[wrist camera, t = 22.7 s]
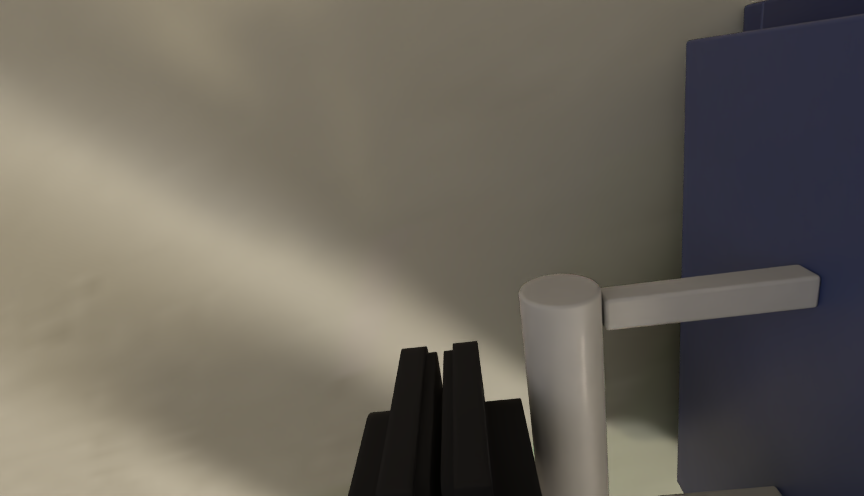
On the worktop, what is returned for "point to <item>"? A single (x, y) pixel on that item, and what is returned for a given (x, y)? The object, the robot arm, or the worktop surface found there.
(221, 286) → the worktop surface
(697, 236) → the drawer
